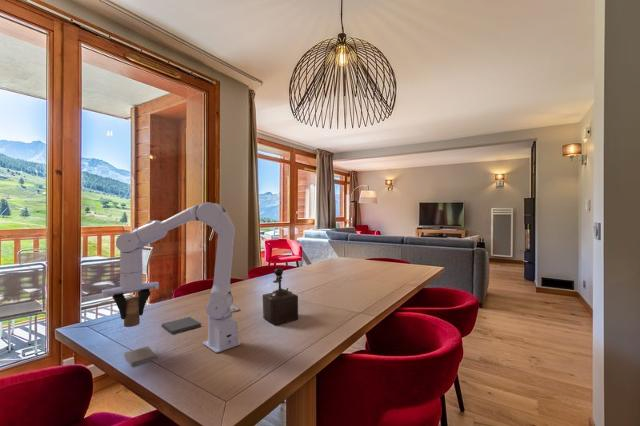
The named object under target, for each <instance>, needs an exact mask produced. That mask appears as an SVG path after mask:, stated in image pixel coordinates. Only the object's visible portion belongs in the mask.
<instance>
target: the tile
mask: <svg viewBox="0 0 640 426" xmlns="http://www.w3.org/2000/svg"><path fill="white" fill-rule="evenodd" d="M123 355H124V358H125V360H126V361H127V362H128V363H129V365H130V366H131V367H134V366H138V365H139V364H142V363H143V364H144V363H146V362H150V361H153V360H156V359H157V354H156V353H155V352H154V351H153V350H152V348H151V347H149V346H147V345H146V346H144V347H140V348H137V349H133V350H129V351H126V352H124V354H123Z"/></svg>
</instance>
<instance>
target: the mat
mask: <svg viewBox="0 0 640 426" xmlns="http://www.w3.org/2000/svg"><path fill="white" fill-rule="evenodd" d="M201 326H202V323H201V322H199V321H198V320H196V319H195V318H192V317H191V316H188V317H184V318H180V319H175V320H171V321H167V322H163V323H161V327H162V328H163V329H164V330H165V331H167V332H168V333H169V334H171V335H173V334H177V333H180V332H185V331H188V330H191V329H195V328H199V327H201Z"/></svg>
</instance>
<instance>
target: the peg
mask: <svg viewBox="0 0 640 426" xmlns="http://www.w3.org/2000/svg"><path fill="white" fill-rule="evenodd" d="M125 298H126V299H125V319H123V327H125V328H132V327H136V326H138V325H140V319H141V316H140V310H139V297H138V295H137V296H135V295H134V296H129V297H125Z"/></svg>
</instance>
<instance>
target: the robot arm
mask: <svg viewBox="0 0 640 426" xmlns="http://www.w3.org/2000/svg"><path fill="white" fill-rule="evenodd" d="M197 221H198V222H199V221H200V222H201V223H203V224H205V225H207V226H209V227H210V228H211V229H213V231H214V232H215V233H216V234H217V242H216V243H217V244H216V252H215V261H214V262H215V263H214V274H213V283H212V287H211V291H210V294H209V295H210V296H209V300H207V303H206V304H205V305H206V306H205V311H206V314H207V340H205V341H202V344H203V345H204V346H206V347H208V349H210V350H212V351H213V352H215V353H216V354H217V353H220V352H224V351H226V350H229V349H231V348H234V347H237V346H240V345H241V342H240V341H239V331H238V329H239V326H238V323H237V321H236V320H235V319H234V317H233V312H232V310H231V308H230V306H231V305H232V304H233V301H234V297H233V294H232V286H231V279H232V277H231V276H232V266H233V257H234V255H233V254H234V243H235V236H236V235H235V233H236V228H235V225H234V223H233V221H232V219H231V217H230V215H229V213H228V210H227V209H226V208H225V207H224V206H223V205H221V204H219V203H217V202H214V203H213V202H210V201H209V202H208V201H205V202H202V203H201V204H197V205H194V206H191V207H188V208H187V209H184V210H182V211H181V212H178V213H176V214H175V215H173V216H171V217H169V218H167V219H165V220H162V221H160V220H157V219H155V220H154V219H153V220H152V219H151V220H148V221H147V222H146V223H147V224H145V225H142V226H140V227H135V228H132V232H130V231H129V232H127V231H125V232H123V233H121V234H119V235H118V236H117V237H116V240H115V246H116V248H117V250H119V251H120V252H119V265H120V266H119V272H120V273H119V277H120V278H119V279H120V280H119V281H120V282H119V283H120V286H116V287H111V288H106V289H102V290H101V298H103V299H105V298H108V297H112V299H113V300H114V302H115V304H116V306H117V308H118V312H119V315H120V316H119V317H120V319H121V320H124V319H125V299H126V298H127V297H125V294H133V293H137V296H138V297H139V310H140V317H141V316H143V313H144V311H145V310H144V309H145V306H146V304H147V301H148V299H149V298H150V296H151V290H157V289H158V290H159V288H160V287H159V286H160V285H159V283H160V282H158V281H152V282H144V280H143V277H144V276H143V273H144V272H143V250H144V248H145V247H146V246H148V245H151V244H152V243H154V242H157V241H158V240H160V239H163V238H166V236H167V233H168V231H171V230H173V229H176V228H179V227H180V226H182V225H185V224H187V223H189V222H197Z"/></svg>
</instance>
